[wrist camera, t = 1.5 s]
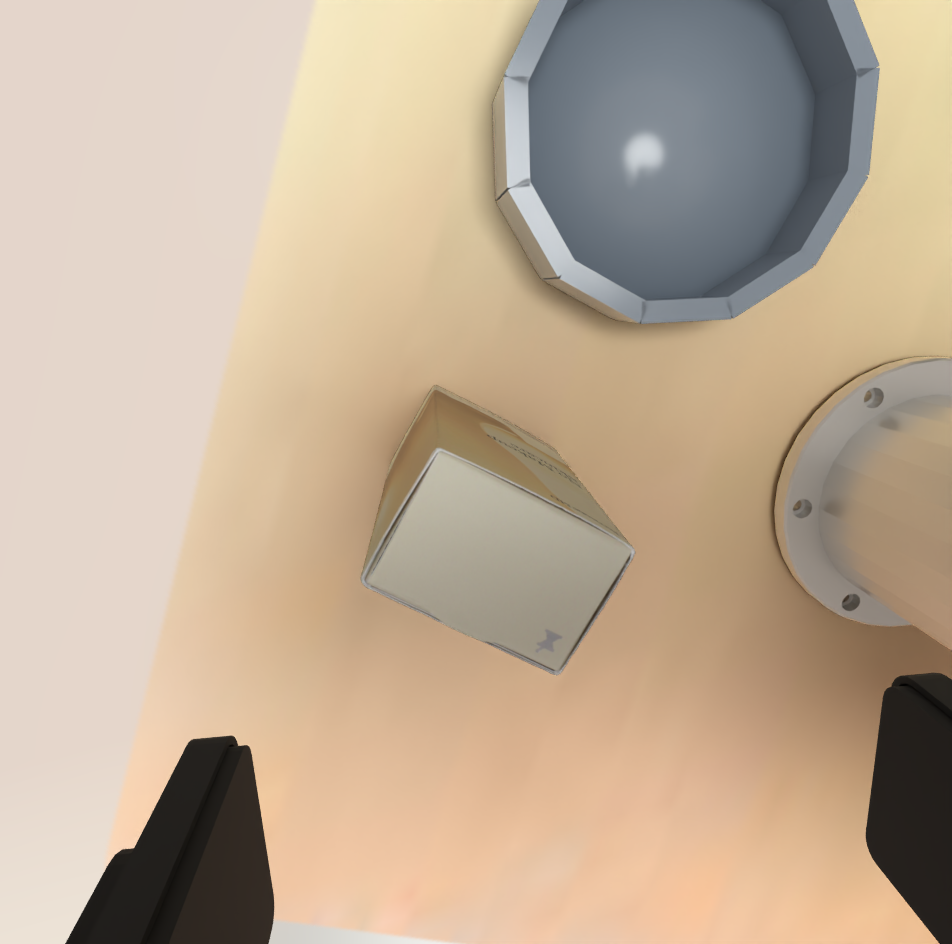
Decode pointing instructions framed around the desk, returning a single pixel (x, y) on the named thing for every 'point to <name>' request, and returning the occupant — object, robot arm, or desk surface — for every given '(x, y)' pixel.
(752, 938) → the desk surface
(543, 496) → the skincare box
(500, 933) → the desk surface
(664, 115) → the slate bowl
